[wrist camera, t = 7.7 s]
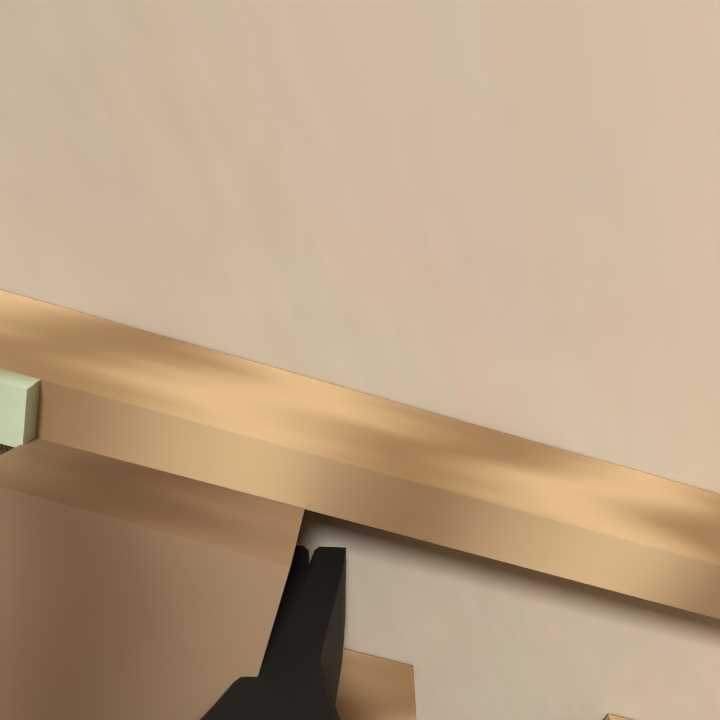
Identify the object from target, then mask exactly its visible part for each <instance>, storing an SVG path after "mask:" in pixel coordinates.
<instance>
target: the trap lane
mask: <svg viewBox="0 0 720 720" xmlns="http://www.w3.org/2000/svg"><path fill="white" fill-rule="evenodd" d="M34 438H39V439H43V440H47V441H51V442H54V443H58V444H62V445H66V446H70V447H73V448H77V449H81V450H85V451H89V452H92V453H96V454H100V455H104V456H108V457H112V458H115V459H119V460H123V461H127V462H131V463H134V464H138V465H142V466H146V467H150V468H153V469H157V470H161V471H165V472H169V473H172V474H176V475H180V476H184V477H188V478H191V479H195V480H199V481H203V482H207V483H210V484H214V485H218V486H222V487H226V488H229V489H233V490H237V491H241V492H245V493H248V494H252V495H256V496H260V497H264V498H267V499H271V500H275V501H279V502H283V503H287V504H290V505H294V506H298V507H302V508H305V509H306V510H310V511H314V512H317V513H321V514H325V515H329V516H333V517H336V518H340V519H344V520H348V521H351V522H355V523H359V524H363V525H366V526H370V527H374V528H378V529H382V530H385V531H389V532H393V533H397V534H400V535H404V536H408V537H412V538H415V539H419V540H423V541H427V542H431V543H434V544H438V545H442V546H446V547H449V548H453V549H457V550H461V551H464V552H468V553H472V554H476V555H480V556H483V557H487V558H491V559H495V560H498V561H502V562H506V563H510V564H513V565H517V566H521V567H525V568H529V569H532V570H536V571H540V572H544V573H547V574H551V575H555V576H559V577H562V578H566V579H570V580H574V581H578V582H581V583H585V584H589V585H593V586H596V587H600V588H604V589H608V590H612V591H615V592H619V593H623V594H627V595H630V596H634V597H638V598H642V599H645V600H649V601H653V602H657V603H661V604H664V605H668V606H672V607H676V608H679V609H683V610H687V611H691V612H694V613H698V614H702V615H706V616H710V617H713V618H717V619H720V494H717V493H713V492H710V491H706V490H703V489H699V488H696V487H692V486H688V485H685V484H681V483H678V482H674V481H671V480H667V479H664V478H660V477H657V476H653V475H650V474H646V473H643V472H639V471H636V470H632V469H629V468H625V467H622V466H618V465H615V464H611V463H608V462H604V461H601V460H597V459H594V458H590V457H586V456H583V455H579V454H576V453H572V452H569V451H565V450H562V449H558V448H555V447H551V446H548V445H544V444H541V443H537V442H534V441H530V440H527V439H523V438H520V437H516V436H513V435H509V434H506V433H502V432H499V431H495V430H492V429H488V428H485V427H481V426H477V425H474V424H470V423H467V422H463V421H460V420H456V419H453V418H449V417H446V416H442V415H439V414H435V413H432V412H428V411H425V410H421V409H418V408H414V407H411V406H407V405H404V404H400V403H397V402H393V401H390V400H386V399H383V398H379V397H375V396H372V395H368V394H365V393H361V392H358V391H354V390H351V389H347V388H344V387H340V386H337V385H333V384H330V383H326V382H323V381H319V380H316V379H312V378H309V377H305V376H302V375H298V374H295V373H291V372H288V371H284V370H281V369H277V368H274V367H270V366H266V365H263V364H259V363H256V362H252V361H249V360H245V359H242V358H238V357H235V356H231V355H228V354H224V353H221V352H217V351H214V350H210V349H207V348H203V347H200V346H196V345H193V344H189V343H186V342H182V341H179V340H175V339H172V338H168V337H164V336H161V335H157V334H154V333H150V332H147V331H143V330H140V329H136V328H133V327H129V326H126V325H122V324H119V323H115V322H112V321H108V320H105V319H101V318H98V317H94V316H91V315H87V314H84V313H80V312H77V311H73V310H70V309H66V308H63V307H59V306H55V305H52V304H48V303H45V302H41V301H38V300H34V299H31V298H27V297H24V296H20V295H17V294H13V293H10V292H6V291H3V290H0V444H4V445H7V446H11V447H17V446H19V445H23V444H25V443H27V442H28V441H30V440H32V439H34ZM335 706H336V709H337V711H338V714H339V716H340V719H341V720H416V706H415V689H414V672H413V666H411V665H407V664H403V663H399V662H395V661H391V660H387V659H383V658H379V657H375V656H371V655H367V654H363V653H359V652H355V651H350V650H346V649H343V659H342V666H341V673H340V679H339V685H338V691H337V698H336V704H335ZM605 720H630V719H626V718H622V717H618V716H614V715H610V714H608V715H607V717H606V718H605Z"/></svg>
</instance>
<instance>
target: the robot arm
mask: <svg viewBox="0 0 720 720" xmlns="http://www.w3.org/2000/svg"><path fill="white" fill-rule="evenodd" d="M345 587H346V548H341V547H318V548H317V549H316V550H315V551H314V553H313V556H312V559H311V561H310V564H309V550H307V549H306V548H305V547H304V546H295V550H294V554H293V558H292V562H291V566H290V570H289V573H288V577H287V580H286V583H285V587H284V590H283V593H282V597H281V600H280V603H279V607H278V610H277V614H276V617H275V620H274V624H273V627H272V630H271V634H270V637H269V640H268V644H267V647H266V650H265V654H264V657H263V661H262V664H261V667H260V671H259V674H258V677H246V676H245V677H240V678H238V679H237V680H236V681H234V682H233V683H232V685H231V686H230V687H229V688H228V689H227V690H226V692H225V693H224V694H223V695H222V696H221V697H220V698H219V699H218V701H217V702H216V703H215V704H214V705H213V706H212V707H211V709H210V710H209V711H208V712H207V713H206V714H205V715H204V716H203V717H202V718H201V719H200V720H341V719H340V716H339V714H338V711H337V709H336V706H335V704H336V698H337V691H338V685H339V679H340V673H341V666H342V659H343V644H344V628H345Z"/></svg>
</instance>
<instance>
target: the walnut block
mask: <svg viewBox="0 0 720 720" xmlns="http://www.w3.org/2000/svg"><path fill="white" fill-rule="evenodd" d="M304 510H305V508H302V507H298V506H294V505H290V504H287V503H283V502H279V501H275V500H271V499H267V498H264V497H260V496H256V495H252V494H248V493H245V492H241V491H237V490H233V489H229V488H226V487H222V486H218V485H214V484H210V483H207V482H203V481H199V480H195V479H191V478H188V477H184V476H180V475H176V474H172V473H169V472H165V471H161V470H157V469H153V468H150V467H146V466H142V465H138V464H134V463H131V462H127V461H123V460H119V459H115V458H112V457H108V456H104V455H100V454H96V453H92V452H89V451H85V450H81V449H77V448H73V447H70V446H66V445H62V444H58V443H54V442H51V441H47V440H43V439H39V438H34V439H32V440H30V441H28V442H27V443H25V444H23V445H19V446H17V447H15V448H13V449H11V450H9V451H7V452H5V453H3V454H1V455H0V720H200V719H201V718H202V717H203V716H204V715H205V714H206V713H207V712H208V711H209V710H210V709H211V707H212V706H213V705H214V704H215V703H216V702H217V701H218V699H219V698H220V697H221V696H222V695H223V694H224V693H225V692H226V690H227V689H228V688H229V687H230V686H231V685H232V683H233V682H234V681H236V680H237V679H238V678H240V677H245V676H246V677H258V674H259V671H260V667H261V664H262V661H263V657H264V654H265V650H266V647H267V644H268V640H269V637H270V634H271V630H272V627H273V624H274V620H275V617H276V614H277V610H278V607H279V603H280V600H281V597H282V593H283V590H284V587H285V583H286V580H287V577H288V573H289V570H290V566H291V562H292V558H293V554H294V550H295V546H296V542H297V538H298V534H299V530H300V526H301V522H302V518H303V514H304Z"/></svg>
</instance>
